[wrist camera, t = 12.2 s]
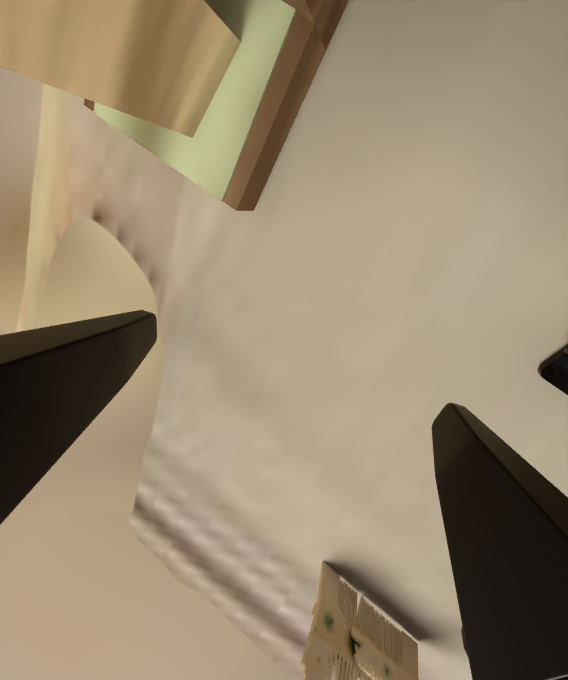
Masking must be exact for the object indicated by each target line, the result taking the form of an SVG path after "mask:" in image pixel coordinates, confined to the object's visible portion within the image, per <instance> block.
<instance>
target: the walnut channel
mask: <svg viewBox="0 0 568 680" xmlns="http://www.w3.org/2000/svg"><path fill="white" fill-rule="evenodd" d="M204 1H205V2H206V3H207V4H208V6H209V7H210V8H211V9H212V10H213V11H214V12H215V13H216V15H217V16H218V17H219V18H220V19H221V20H222V21H223V22H224V24H225V25H226V26H227V27H228V28H229V29H230V30H231V32H232V33H233V34H234V35H235V36H236V37H237V38H238V39H239V41H240V42H241V43H240V45H239V47H238V49H237V51H236V53H235V55H234V57H233V59H232V61H231V63H230V65H229V67H228V69H227V71H226V73H225V75H224V77H223V79H222V81H221V83H220V85H219V87H218V89H217V91H216V93H215V95H214V97H213V99H212V101H211V103H210V105H209V107H208V109H207V111H206V113H205V115H204V117H203V118H202V120H201V122H200V124H199V126H198V128H197V130H196V132H195V134H194V136H193V138H191V137H188V136H186V135H183V134H180V133H178V132H175V131H172V130H169V129H167V128H164V127H161V126H159V125H156V124H153V123H151V122H148V121H145V120H142V119H140V118H137V117H134V116H132V115H129V114H126V113H124V112H121V111H118V110H115V109H113V108H110V107H107V106H105V105H102V104H99V103H96V102H94V101H91V100H88V99H86V98H85V101H84V105H85V106H86V107H88V108H89V109H91V110H92V111H94V113H95V114H97V115H98V116H99V117H101V118H102V119H104V120H105V121H107V122H108V123H109V124H111V125H112V126H114V127H115V128H117V129H118V130H120V131H121V132H122V133H124V134H125V135H127V136H128V137H130V138H131V139H133V140H134V141H135V142H137V143H138V144H140V145H141V146H143V147H144V148H145V149H147V150H148V151H150V152H151V153H153V154H154V155H156V156H157V157H158V158H160V159H161V160H163V161H164V162H166V163H167V164H169V165H170V166H171V167H173V168H174V169H176V170H177V171H179V172H180V173H182V174H183V175H184V176H186V177H187V178H189V179H190V180H192V181H193V182H194V183H196V184H197V185H199V186H200V187H202V188H203V189H205V190H206V191H207V192H209V193H210V194H212V195H213V196H215V197H216V198H218V199H219V200H220V201H223V202H225V203H226V204H228V205H229V206H231V207H232V208H233V209H235V210H239V211H253V210H254V208H255V206H256V203H257V201H258V199H259V197H260V195H261V192H262V190H263V188H264V186H265V184H266V181H267V179H268V177H269V175H270V172H271V170H272V168H273V166H274V164H275V161H276V159H277V157H278V155H279V153H280V150H281V148H282V146H283V144H284V141H285V139H286V137H287V135H288V133H289V130H290V128H291V126H292V124H293V121H294V119H295V117H296V115H297V113H298V110H299V108H300V106H301V104H302V102H303V99H304V97H305V95H306V93H307V90H308V88H309V86H310V84H311V82H312V79H313V77H314V75H315V73H316V71H317V68H318V66H319V64H320V62H321V59H322V57H323V55H324V53H325V51H326V48H327V46H328V44H329V42H330V39H331V37H332V35H333V33H334V31H335V28H336V26H337V24H338V22H339V20H340V17H341V15H342V13H343V11H344V8H345V6H346V4H347V2H348V0H204Z"/></svg>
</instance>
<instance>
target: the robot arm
mask: <svg viewBox="0 0 568 680" xmlns="http://www.w3.org/2000/svg"><path fill="white" fill-rule="evenodd" d="M156 339H157V320H156V316H155V314H153V313H151V312H147V311H144V310H138V311H133V312H127V313H122V314H117V315H110V316H105V317H99V318H94V319H88V320H83V321H77V322H72V323H66V324H60V325H55V326H49V327H44V328H38V329H32V330H27V331H21V332H16V333H10V334H5V335H0V524H1V523H2V522H3V521H4V520H5V519H6V518H7V517H8V516H9V514H10V513H11V512H12V511H13V510H14V509H15V508H16V506H17V505H18V504H19V503H20V502H21V501H22V499H24V498H25V496H26V495H27V494H28V493H29V492H30V491H31V490H32V488H33V487H34V486H35V485H36V484H37V483H38V482H39V481H40V479H41V478H42V477H43V476H44V475H45V474H46V473H47V472H48V470H49V469H50V468H51V467H52V466H53V465H54V464H55V463H56V462H57V460H58V459H59V458H60V457H61V456H62V455H63V453H65V451H66V450H67V449H68V448H69V447H70V446H71V445H72V444H73V442H74V441H75V440H76V439H77V438H78V437H79V436H80V434H81V433H82V432H83V431H84V430H85V429H86V428H87V427H88V426H89V424H90V423H91V422H92V421H93V420H94V419H95V418H96V417H97V416H98V414H99V413H100V412H101V411H102V410H103V409H104V408H105V407H106V405H107V404H108V403H109V402H110V401H111V400H112V398H113V397H114V396H115V395H116V394H117V393H118V392H119V391H120V390H121V389H122V387H123V386H124V385H125V384H126V383H127V382H128V380H129V379H130V378H131V376H132V375H133V374H134V372H135V371H136V369H137V368H138V367H139V365H140V364H141V362H142V361H143V360H144V358H145V357H146V355H147V354H148V352H149V351H150V350H151V348H152V347H153V345H154V344H155V342H156ZM550 369H553V371H552V372H551V373H546V371H547V370H550ZM538 373H539V374H540V375H541V376H542V378H544V379H545V380H546V381H548V382H549V383H551V384H552V385H554V386H555V387H557V388H558V389H560V390H561V391H562V392H564V393H565V394H567V395H568V345H566V346H565V348H564V349H563V350H561V351H560V352H558V353H557V354H556V355H554V356H553V357H551V358H550V359H549V360H547V361H546V362H544V363H543V364H542V365H540V366H539V368H538ZM432 439H433V453H434V467H435V477H436V484H437V490H438V495H439V500H440V506H441V511H442V517H443V522H444V528H445V533H446V538H447V544H448V549H449V555H450V560H451V566H452V571H453V576H454V582H455V587H456V593H457V598H458V603H459V609H460V614H461V620H462V625H463V631H464V636H465V641H466V647H467V652H468V658H469V663H470V668H471V674H472V679H473V680H568V497H566V496H565V495H564V494H563V493H562V492H561V491H560V490H559V489H557V488H556V487H555V486H554V485H553V484H552V483H551V482H549V481H548V480H547V479H546V478H545V477H544V476H543V475H542V474H540V473H539V472H538V471H537V470H536V469H535V468H534V467H532V466H531V465H530V464H529V463H528V462H527V461H526V460H525V459H523V458H522V457H521V456H520V455H519V454H518V453H517V452H515V451H514V450H513V449H512V448H511V447H510V446H509V445H507V444H506V443H505V442H504V441H503V440H502V439H501V438H500V437H498V436H497V435H496V434H495V433H494V432H493V431H492V430H490V429H489V428H488V427H487V426H486V425H485V424H484V423H483V422H481V421H480V420H479V419H478V418H477V417H476V416H475V415H473V414H472V413H471V412H470V411H469V410H468V409H467V408H465V407H464V406H461V405H457V404H454V403H448V404H446V405H445V407H444V408H443V409H442V411H441V412H440V413H439V415H438V416H437V417H436V419H435V420H434V422H433V424H432Z"/></svg>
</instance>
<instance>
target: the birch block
mask: <svg viewBox="0 0 568 680" xmlns="http://www.w3.org/2000/svg"><path fill="white" fill-rule="evenodd" d="M240 43H241V42H240V41H239V39H238V38H237V37H236V36H235V35H234V34H233V33H232V32H231V30H230V29H229V28H228V27H227V26H226V25H225V24H224V22H223V21H222V20H221V19H220V18H219V17H218V16H217V15H216V13H215V12H214V11H213V10H212V9H211V8H210V7H209V6H208V4H207V3H206V2H205V1H204V0H0V67H2V68H5V69H7V70H10V71H13V72H15V73H18V74H21V75H24V76H27V77H29V78H32V79H34V80H37V81H40V82H42V83H45V84H48V85H51V86H53V87H56V88H59V89H61V90H64V91H67V92H69V93H72V94H75V95H78V96H80V97H83V98H86V99H88V100H91V101H94V102H96V103H99V104H102V105H105V106H107V107H110V108H113V109H115V110H118V111H121V112H124V113H126V114H129V115H132V116H134V117H137V118H140V119H142V120H145V121H148V122H151V123H153V124H156V125H159V126H161V127H164V128H167V129H169V130H172V131H175V132H178V133H180V134H183V135H186V136H188V137H191V138H193V136H194V134H195V132H196V130H197V128H198V126H199V124H200V122H201V120H202V118H203V117H204V115H205V113H206V111H207V109H208V107H209V105H210V103H211V101H212V99H213V97H214V95H215V93H216V91H217V89H218V87H219V85H220V83H221V81H222V79H223V77H224V75H225V73H226V71H227V69H228V67H229V65H230V63H231V61H232V59H233V57H234V55H235V53H236V51H237V49H238V47H239V45H240Z"/></svg>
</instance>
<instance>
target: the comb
mask: <svg viewBox="0 0 568 680" xmlns="http://www.w3.org/2000/svg"><path fill="white" fill-rule="evenodd" d="M341 583H342V584H341ZM356 614H357V617H356ZM312 616H313V622H312V626H311V630H310V633H309V636H308V639H307V643H306V647H305V651H304V654H303V658H302V661H301V665H302V670H303V675H304V678H305V680H331V671H332V667H333V668H335V677H334V680H351V677H352V680H419V679H418V644H417V643H416V642H415V641H414V640H413V639H412V638H410V637H409V636H408V635H407V634H406V633H404V632H403V631H401V633H400V629H398V630H397V627H395V626H394V625H392V623H391V622H390V624H389V620H388V621H387V619H386V623H385V617H383V616H381V613H380V617H379V613H378V612H377V611H375V610H374V607H372V605H371V608H370V605H369V603H368V604H367V600H366V603H365V599H364V597H363V598H362V596H361V599H360V603H359V607H358V612H357V592H356V591H355V592H354V590H353V589H352V590H351V587H350V586H349V587H348V584H347V583H346V584H345V581H344V584H343V581H340V576H339V575H338V574H337V573H336V572H335V571H334V570H333V569H332V568H331V567H330V566H329V565H327V564H326V563H325V562H322V568H321V575H320V583H319V590H318V596H317V601H316V603H315V605H314V608H313V612H312Z"/></svg>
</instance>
